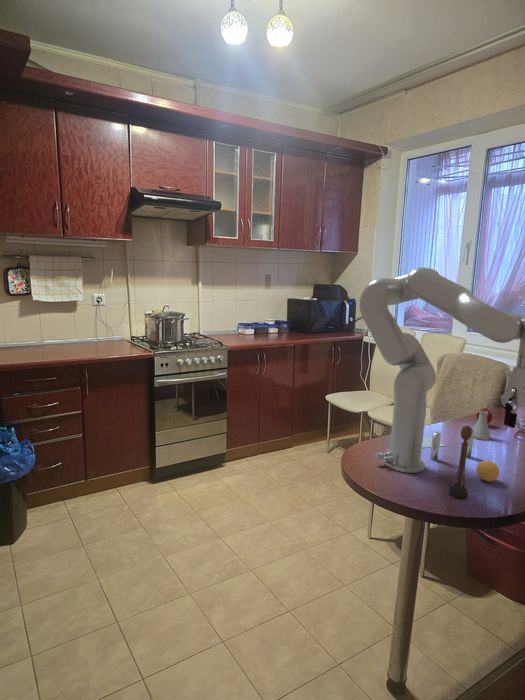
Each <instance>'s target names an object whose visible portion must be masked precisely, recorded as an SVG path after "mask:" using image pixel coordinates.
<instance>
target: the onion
mask: <svg viewBox="0 0 525 700" xmlns="http://www.w3.org/2000/svg"><path fill="white" fill-rule="evenodd" d="M479 411H486V412H488V415H487V424H488V425H489V424H490V423H492V420H493V415H492V412H491V411H490V410H489V409H488V407H487V406H484V407H483V408H481V409H479V410H478V411H477V413H476V415H475V417H476V420H477V421H478V418H479V415H480V413H479Z"/></svg>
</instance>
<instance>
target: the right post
mask: <svg viewBox="0 0 525 700" xmlns="http://www.w3.org/2000/svg"><path fill="white" fill-rule="evenodd" d="M474 439H475V438H474V431H472V436H471V438H470V439H469V440H467V443H468V447H467V454H466V459H471V458H472V453H473V452H472V451H473V444H474Z"/></svg>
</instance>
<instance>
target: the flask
mask: <svg viewBox="0 0 525 700" xmlns="http://www.w3.org/2000/svg"><path fill="white" fill-rule="evenodd" d="M478 411H479V410H478ZM479 413H480V415H479V418H478V421H477V422H476V423H475V425H474V426H473V428H472V429H473V431H474V438H473V439H476V440H482V441H489V440H491V439H492V437H491V433H490V430H489V423H488V424H487V415H488V412H486V411H479Z"/></svg>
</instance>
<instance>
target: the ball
mask: <svg viewBox="0 0 525 700" xmlns="http://www.w3.org/2000/svg"><path fill="white" fill-rule="evenodd" d="M476 474H477V477H479V479H481V480H483V481H485V482H493V481H495V480H496V479H498V478H499V476H500V468H499V466H498V465H497V464H496V463H495V462H494V461H491V460H487V459H486V460H482V461H481V462H479V463H477V466H476Z"/></svg>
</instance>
